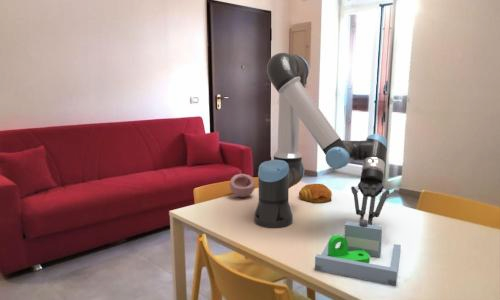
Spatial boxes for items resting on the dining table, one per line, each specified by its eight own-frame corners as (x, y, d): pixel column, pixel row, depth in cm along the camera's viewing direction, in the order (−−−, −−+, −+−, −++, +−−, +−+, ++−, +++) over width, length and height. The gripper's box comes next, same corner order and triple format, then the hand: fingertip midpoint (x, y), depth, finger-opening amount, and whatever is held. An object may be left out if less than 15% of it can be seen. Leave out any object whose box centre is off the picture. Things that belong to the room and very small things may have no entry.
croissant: (297, 199, 181) (295, 183, 180) (328, 193, 182) (326, 178, 181) (304, 208, 167) (302, 191, 166) (338, 202, 168) (336, 185, 167)
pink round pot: (232, 201, 172) (231, 177, 170) (228, 194, 183) (227, 171, 181) (257, 199, 174) (257, 175, 172) (252, 192, 186) (251, 170, 184)
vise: (314, 269, 108) (315, 256, 108) (332, 238, 130) (332, 227, 129) (395, 285, 99) (396, 271, 99) (400, 249, 121) (401, 237, 120)
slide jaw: (343, 251, 120) (344, 219, 118) (345, 247, 122) (346, 216, 121) (379, 257, 115) (381, 224, 113) (380, 253, 118) (382, 221, 116)
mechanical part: (336, 269, 109) (337, 243, 107) (327, 260, 115) (328, 235, 113) (373, 264, 112) (374, 239, 110) (362, 255, 117) (364, 231, 116)
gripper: (352, 165, 132) (342, 226, 120) (392, 168, 127) (385, 232, 115) (354, 176, 138) (345, 236, 126) (392, 180, 133) (385, 242, 121)
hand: (364, 234), depth 120 cm, fingers closed
